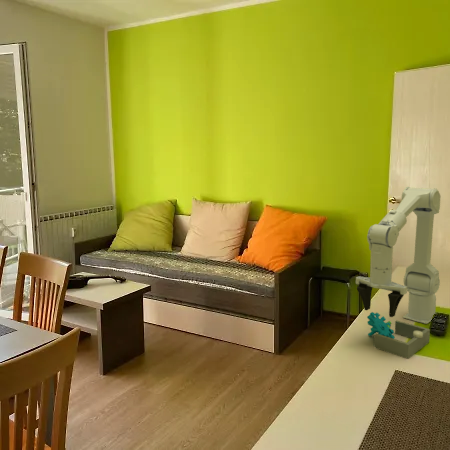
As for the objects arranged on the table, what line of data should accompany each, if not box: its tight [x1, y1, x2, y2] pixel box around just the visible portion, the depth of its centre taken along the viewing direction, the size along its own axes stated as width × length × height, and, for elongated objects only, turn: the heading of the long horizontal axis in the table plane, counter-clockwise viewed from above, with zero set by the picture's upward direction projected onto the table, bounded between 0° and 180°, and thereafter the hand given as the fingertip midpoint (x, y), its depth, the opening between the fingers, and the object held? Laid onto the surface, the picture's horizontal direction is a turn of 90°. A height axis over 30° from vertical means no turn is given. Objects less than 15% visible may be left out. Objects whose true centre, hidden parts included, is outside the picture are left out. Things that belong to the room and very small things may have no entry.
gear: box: [366, 311, 395, 339], centre depth 137 cm, size 11×6×10 cm
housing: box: [373, 319, 431, 359], centre depth 131 cm, size 14×11×5 cm
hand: (379, 312), depth 130 cm, fingers open, 7 cm apart
